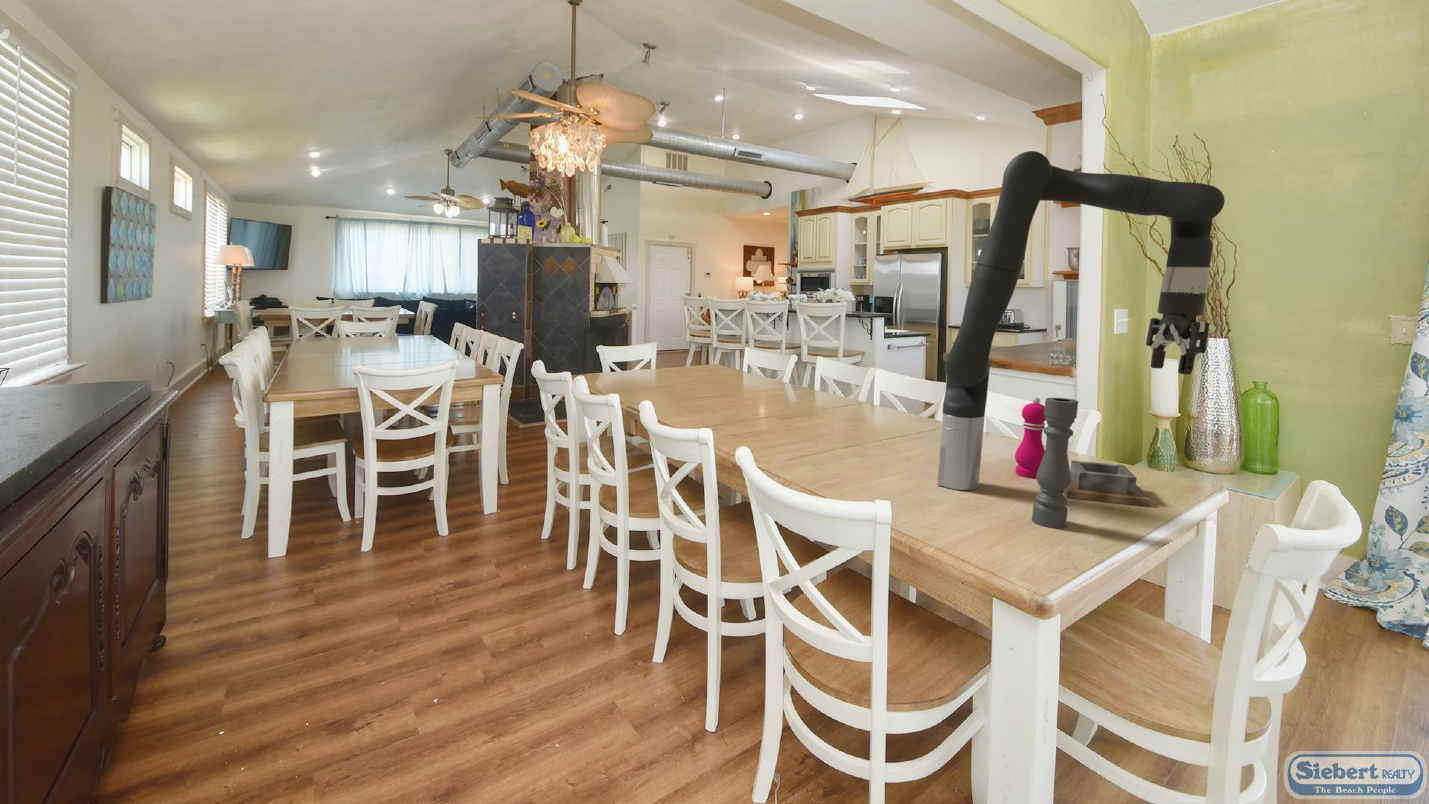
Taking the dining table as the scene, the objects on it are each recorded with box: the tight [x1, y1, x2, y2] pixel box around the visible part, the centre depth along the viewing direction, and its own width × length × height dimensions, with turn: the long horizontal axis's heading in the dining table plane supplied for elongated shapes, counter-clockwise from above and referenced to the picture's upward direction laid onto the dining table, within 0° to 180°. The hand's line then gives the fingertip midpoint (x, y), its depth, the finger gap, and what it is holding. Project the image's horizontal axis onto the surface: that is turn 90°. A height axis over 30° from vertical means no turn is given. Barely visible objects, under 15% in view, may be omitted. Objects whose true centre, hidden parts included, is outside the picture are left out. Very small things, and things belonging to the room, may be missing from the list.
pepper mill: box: [1014, 396, 1047, 479], centre depth 159 cm, size 7×7×20 cm
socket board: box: [1063, 460, 1152, 507], centre depth 147 cm, size 16×16×6 cm
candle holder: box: [1031, 397, 1079, 529], centre depth 125 cm, size 6×6×25 cm
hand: (1170, 371), depth 129 cm, fingers open, 8 cm apart
